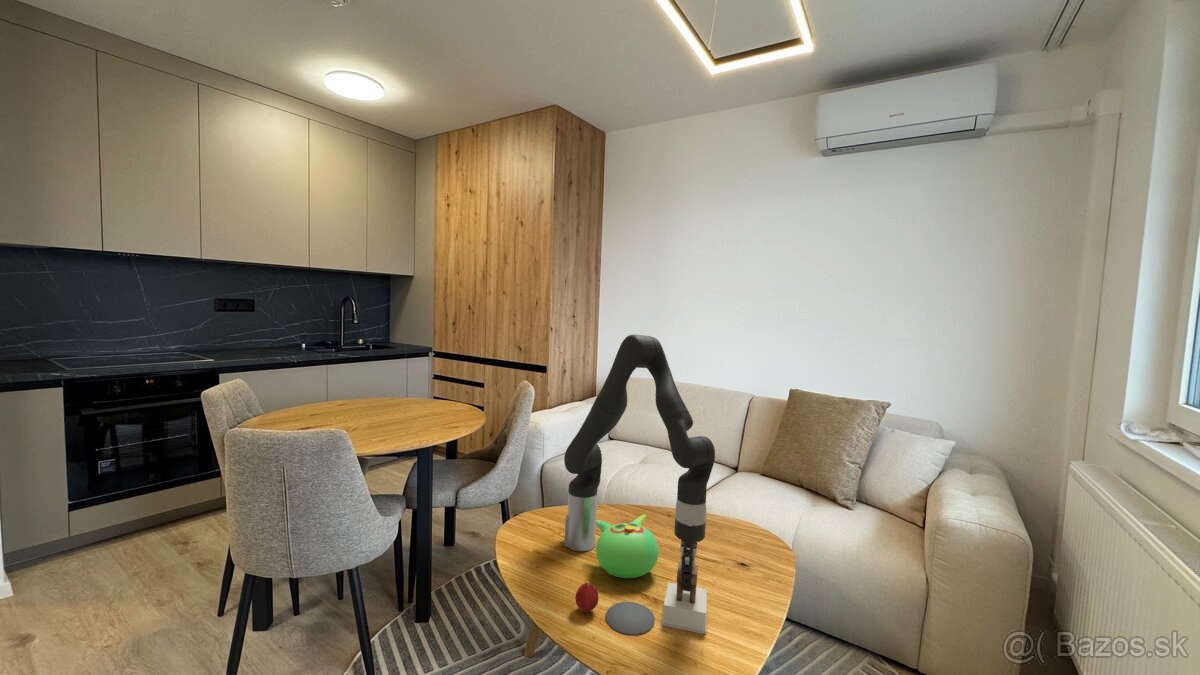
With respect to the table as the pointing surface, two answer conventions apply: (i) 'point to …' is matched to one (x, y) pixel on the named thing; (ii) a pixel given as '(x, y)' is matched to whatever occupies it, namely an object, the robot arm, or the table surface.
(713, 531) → the table surface
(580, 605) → the onion
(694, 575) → the walnut stool
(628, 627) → the charcoal felt mat
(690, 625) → the white square box
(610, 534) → the toy bird
